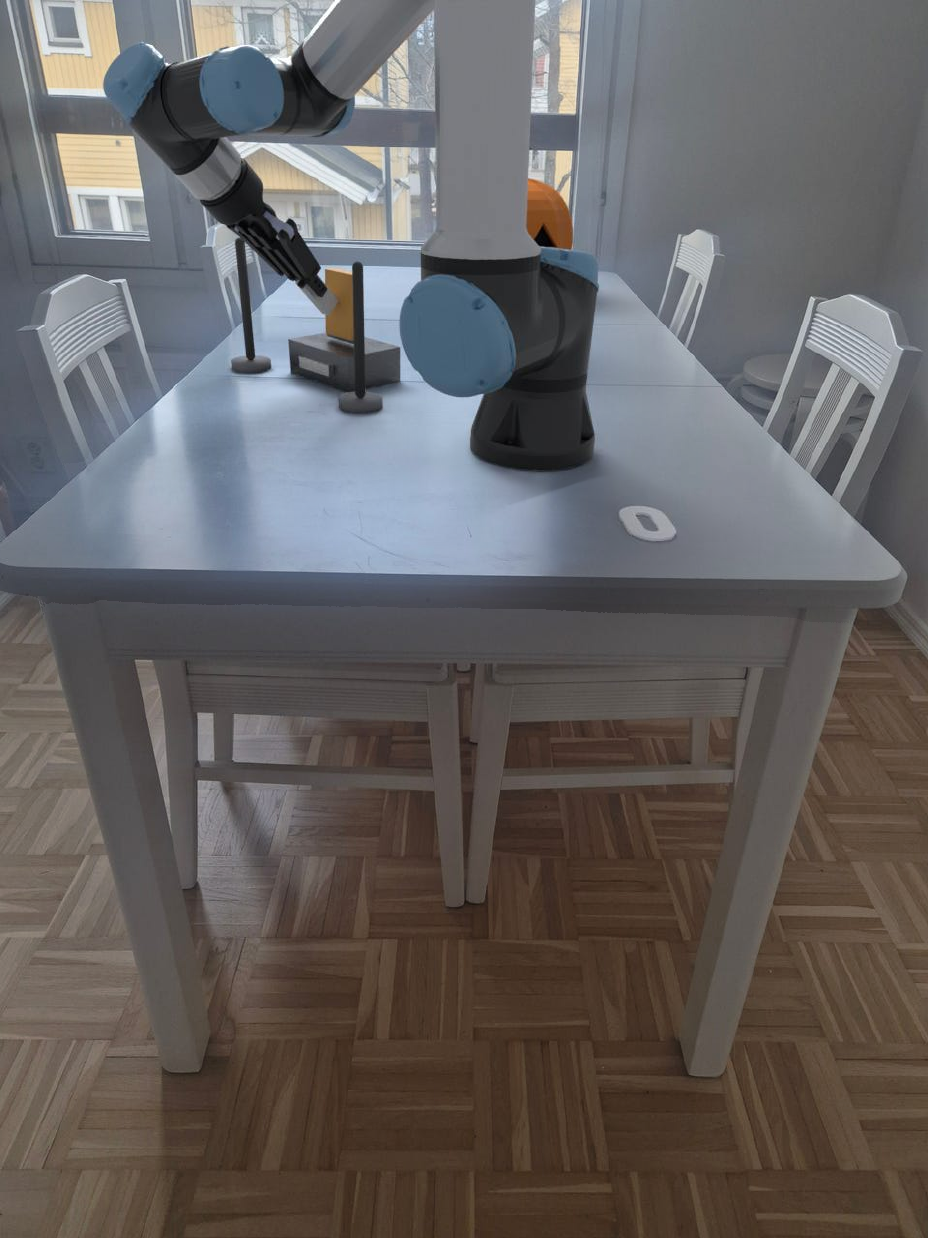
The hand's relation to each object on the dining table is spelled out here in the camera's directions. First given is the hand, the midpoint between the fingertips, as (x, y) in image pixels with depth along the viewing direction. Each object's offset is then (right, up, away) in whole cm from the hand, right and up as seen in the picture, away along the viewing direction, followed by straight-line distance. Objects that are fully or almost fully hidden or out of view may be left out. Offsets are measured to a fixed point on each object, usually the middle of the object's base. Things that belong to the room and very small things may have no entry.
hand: (330, 307), depth 121 cm
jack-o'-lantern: (+29, +30, +71) cm, 82 cm away
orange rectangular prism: (+1, -3, +3) cm, 5 cm away
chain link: (+38, -36, -36) cm, 64 cm away
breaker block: (+1, -8, +6) cm, 10 cm away
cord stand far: (-14, -6, +9) cm, 17 cm away
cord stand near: (+5, -16, -6) cm, 18 cm away
